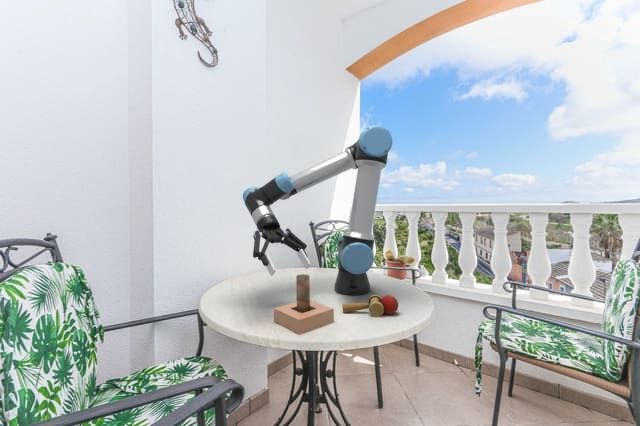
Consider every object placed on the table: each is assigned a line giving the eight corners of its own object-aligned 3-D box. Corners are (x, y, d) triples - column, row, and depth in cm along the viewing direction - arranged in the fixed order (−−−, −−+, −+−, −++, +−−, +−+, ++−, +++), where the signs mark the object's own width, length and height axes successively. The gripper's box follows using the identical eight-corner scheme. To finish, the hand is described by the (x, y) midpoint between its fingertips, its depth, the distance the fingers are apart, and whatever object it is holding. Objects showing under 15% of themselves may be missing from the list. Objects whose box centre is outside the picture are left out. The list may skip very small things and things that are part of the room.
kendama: (343, 321, 91) (401, 315, 89) (340, 301, 93) (397, 294, 90) (345, 317, 99) (398, 311, 97) (342, 298, 100) (394, 291, 98)
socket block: (307, 311, 98) (306, 299, 98) (333, 321, 88) (333, 308, 88) (274, 321, 89) (273, 308, 89) (299, 334, 79) (299, 319, 79)
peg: (304, 318, 91) (304, 273, 91) (312, 321, 88) (312, 275, 88) (294, 321, 89) (293, 275, 89) (302, 325, 86) (301, 278, 86)
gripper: (290, 226, 114) (316, 270, 102) (229, 231, 97) (252, 283, 86) (298, 213, 109) (325, 257, 98) (236, 215, 93) (261, 268, 82)
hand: (291, 269), depth 92 cm, fingers open, 13 cm apart
